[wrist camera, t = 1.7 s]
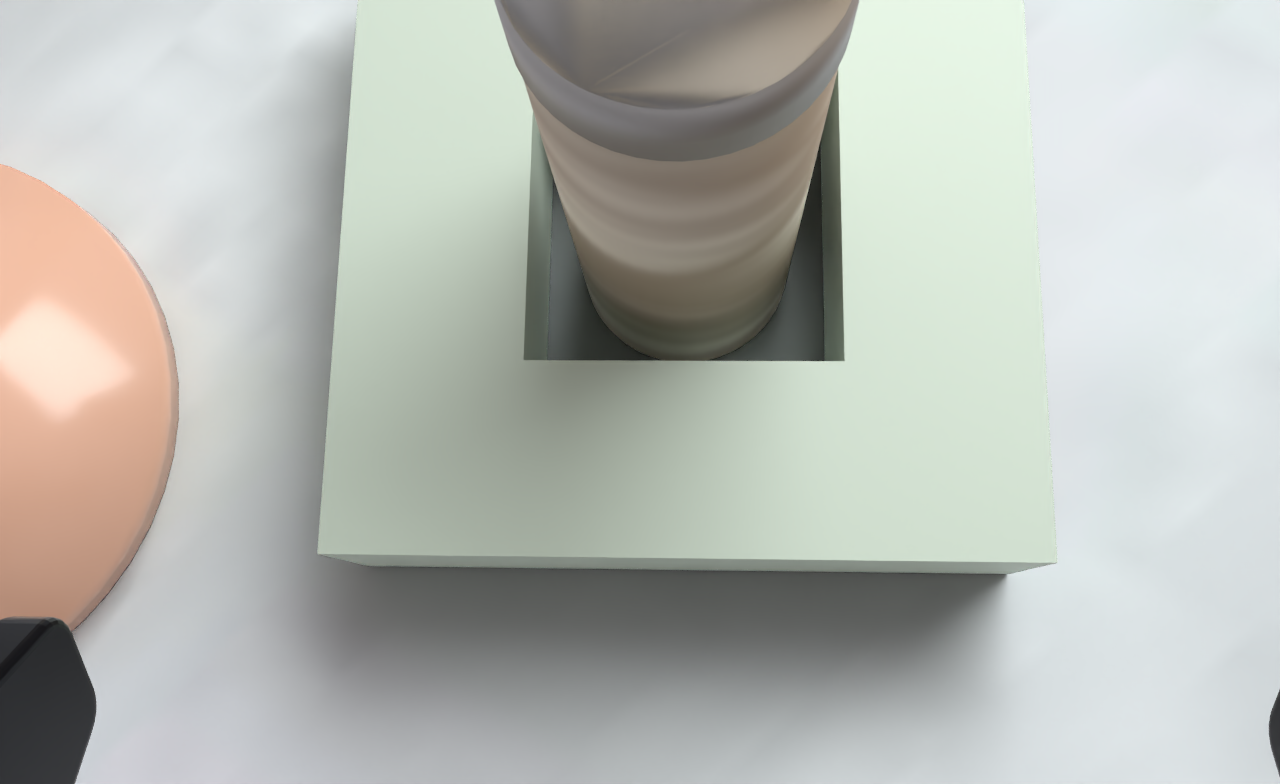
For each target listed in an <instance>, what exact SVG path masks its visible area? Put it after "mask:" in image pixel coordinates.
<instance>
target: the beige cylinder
mask: <svg viewBox="0 0 1280 784" xmlns="http://www.w3.org/2000/svg"><path fill="white" fill-rule="evenodd" d="M494 1H495V4H496V7H497V11H498V14H499V17H500V20H501V23H502V26H503V30H504V33H505V36H506V39H507V42H508V45H509V48H510V51H511V54H512V56H513V59H514V62H515V64H516V67H517V68H518V70H519V72H520V74H521V76H522V78H523V80H524V83H525V86H526V89H527V93H528V96H529V99H530V102H531V106H532V109H533V112H534V115H535V119H536V122H537V125H538V128H539V132H540V135H541V138H542V141H543V145H544V148H545V151H546V154H547V158H548V161H549V164H550V168H551V171H552V174H553V177H554V181H555V184H556V187H557V190H558V194H559V197H560V200H561V203H562V207H563V210H564V213H565V216H566V220H567V223H568V226H569V229H570V233H571V236H572V239H573V242H574V246H575V249H576V252H577V255H578V259H579V262H580V265H581V268H582V272H583V275H584V278H585V281H586V285H587V288H588V291H589V294H590V297H591V300H592V302H593V305H594V307H595V309H596V311H597V312H598V314H599V316H600V318H601V319H602V320H603V322H604V323H605V325H606V326H607V327H608V328H609V329H610V330H611V331H612V332H613V333H614V334H615V336H617V337H618V338H619V339H620V340H622V341H623V342H624V343H625V344H627V345H628V346H630V347H632V348H633V349H635V350H637V351H639V352H641V353H643V354H645V355H648V356H650V357H654V358H657V359H660V360H665V361H706V360H710V359H715V358H718V357H720V356H723V355H726V354H728V353H730V352H732V351H734V350H736V349H738V348H740V347H741V346H743V345H744V344H746V343H747V342H749V341H750V340H751V339H752V338H753V337H755V336H756V335H757V334H758V333H759V332H760V331H761V330H762V329H763V328H764V326H765V325H766V324H767V323H768V322H769V320H770V319H771V317H772V315H773V314H774V312H775V311H776V309H777V306H778V304H779V302H780V300H781V297H782V294H783V291H784V287H785V284H786V280H787V275H788V271H789V267H790V263H791V259H792V255H793V251H794V247H795V243H796V239H797V235H798V231H799V226H800V222H801V218H802V214H803V210H804V206H805V202H806V198H807V194H808V190H809V186H810V181H811V177H812V173H813V169H814V165H815V161H816V157H817V153H818V149H819V145H820V141H821V136H822V132H823V128H824V124H825V120H826V116H827V112H828V108H829V104H830V100H831V96H832V92H833V87H834V83H835V79H836V75H837V71H838V67H839V64H840V62H841V60H842V58H843V56H844V54H845V52H846V48H847V45H848V42H849V39H850V35H851V32H852V28H853V24H854V20H855V16H856V12H857V8H858V4H859V0H494Z"/></svg>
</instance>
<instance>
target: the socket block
mask: <svg viewBox="0 0 1280 784" xmlns="http://www.w3.org/2000/svg"><path fill="white" fill-rule="evenodd" d="M821 186H822V239H823V293H824V346H825V361H626V360H547V349H548V319H549V289H550V259H551V229H552V198H553V174H552V171H551V168H550V164H549V161H548V158H547V154H546V151H545V148H544V145H543V141H542V138H541V135H540V132H539V128H538V125H537V122H536V119H535V115H534V112H533V109H532V106H531V102H530V99H529V96H528V93H527V89H526V86H525V83H524V80H523V78H522V76H521V74H520V72H519V70H518V68H517V67H516V64H515V62H514V59H513V56H512V54H511V51H510V48H509V45H508V42H507V39H506V36H505V33H504V30H503V26H502V23H501V20H500V17H499V14H498V11H497V7H496V4H495V1H494V0H358V4H357V18H356V32H355V45H354V59H353V73H352V86H351V100H350V113H349V127H348V141H347V154H346V168H345V182H344V195H343V209H342V223H341V236H340V250H339V264H338V277H337V291H336V304H335V318H334V332H333V345H332V359H331V373H330V386H329V400H328V414H327V427H326V441H325V454H324V468H323V482H322V495H321V509H320V523H319V536H318V550H317V554H319V555H324V556H328V557H332V558H336V559H340V560H344V561H349V562H353V563H357V564H361V565H365V566H404V567H484V568H564V569H645V570H725V571H806V572H886V573H967V574H1011V573H1015V572H1020V571H1024V570H1028V569H1033V568H1037V567H1041V566H1046V565H1050V564H1054V563H1057V547H1056V531H1055V514H1054V497H1053V480H1052V464H1051V447H1050V430H1049V414H1048V397H1047V380H1046V363H1045V347H1044V330H1043V313H1042V296H1041V280H1040V263H1039V246H1038V230H1037V213H1036V196H1035V179H1034V163H1033V146H1032V129H1031V113H1030V96H1029V79H1028V62H1027V46H1026V29H1025V12H1024V0H859V4H858V8H857V12H856V16H855V20H854V24H853V28H852V32H851V35H850V39H849V42H848V45H847V48H846V52H845V54H844V56H843V58H842V60H841V62H840V64H839V67H838V71H837V75H836V79H835V83H834V87H833V92H832V96H831V100H830V104H829V108H828V112H827V116H826V120H825V124H824V128H823V132H822V136H821Z"/></svg>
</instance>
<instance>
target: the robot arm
mask: <svg viewBox="0 0 1280 784" xmlns="http://www.w3.org/2000/svg"><path fill="white" fill-rule="evenodd" d="M95 716H96V697H95V692H94V688H93V686H92V683H91V681H90V678H89V676H88V673H87V671H86V668H85V666H84V663H83V661H82V658H81V655H80V653H79V650H78V648H77V645H76V643H75V640H74V638H73V635H72V633H71V630H70V629H69V627H68V625H67V624H65V623H64V622H63V621H62V620H61V619H58V618H55V617H32V616H12V617H7V618H3V619H1V620H0V784H75V782H76V779H77V775H78V772H79V769H80V766H81V763H82V760H83V757H84V754H85V751H86V748H87V745H88V742H89V739H90V736H91V733H92V730H93V726H94V722H95ZM1269 737H1270V744H1271V748H1272V752H1273V756H1274V759H1275V762H1276V766H1277V769H1278V772H1279V776H1280V690H1279V693H1278V695H1277V698H1276V700H1275V703H1274V706H1273V708H1272V711H1271V715H1270V721H1269Z"/></svg>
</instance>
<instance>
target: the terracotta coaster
mask: <svg viewBox="0 0 1280 784" xmlns="http://www.w3.org/2000/svg"><path fill="white" fill-rule="evenodd" d="M178 419H179V383H178V376H177V368H176V361H175V353H174V348H173V344H172V340H171V337H170V333H169V330H168V326H167V322H166V319H165V316H164V313H163V311H162V309H161V307H160V304H159V302H158V300H157V298H156V295H155V293H154V291H153V288H152V286H151V285H150V283H149V281H148V280H147V278H146V277H145V275H144V273H143V272H142V270H141V269H140V267H139V265H138V264H137V262H136V261H135V259H134V258H133V257H132V255H131V254H130V253H129V252H128V251H127V250H126V248H125V247H124V246H123V245H122V244H121V243H120V241H119V240H118V239H117V238H116V237H115V236H114V234H113V233H111V232H110V231H109V230H108V229H107V228H106V227H105V226H103V225H102V224H101V223H100V222H99V221H98V220H96V219H95V218H94V217H93V216H92V215H91V214H90V213H88V212H87V211H85V210H84V209H83V208H81V207H80V206H78V205H77V204H76V203H74V202H73V201H71V200H70V199H68V198H67V197H65V196H64V195H62V194H61V193H59V192H58V191H56V190H54V189H53V188H51V187H50V186H48V185H47V184H45V183H44V182H42V181H40V180H38V179H36V178H34V177H31V176H29V175H27V174H25V173H23V172H20V171H18V170H16V169H14V168H12V167H8V166H5V165H2V164H0V620H1V619H3V618H7V617H12V616H32V617H55V618H58V619H61V620H62V621H63V622H64V623H65V624H67V625H68V627H69V629H70V630H71V631H72V630H74V629H75V628H76V627H77V626H78V625H79V624H80V623H82V622H83V621H84V619H85V618H86V617H87V616H88V615H89V614H90V613H91V612H92V611H93V609H94V608H95V607H96V606H97V605H98V604H99V603H100V602H101V601H102V600H103V598H104V597H105V596H106V595H107V594H108V593H109V592H110V590H111V589H112V587H113V586H114V585H115V583H116V582H117V580H118V579H119V578H120V576H121V575H122V573H123V572H124V571H125V569H126V568H127V566H128V565H129V564H130V562H131V561H132V559H133V557H134V555H135V553H136V552H137V550H138V548H139V546H140V544H141V542H142V541H143V539H144V537H145V535H146V533H147V531H148V530H149V528H150V526H151V523H152V521H153V518H154V516H155V513H156V511H157V508H158V506H159V503H160V501H161V498H162V496H163V493H164V490H165V487H166V483H167V479H168V475H169V471H170V468H171V464H172V460H173V456H174V450H175V442H176V434H177V427H178Z"/></svg>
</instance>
